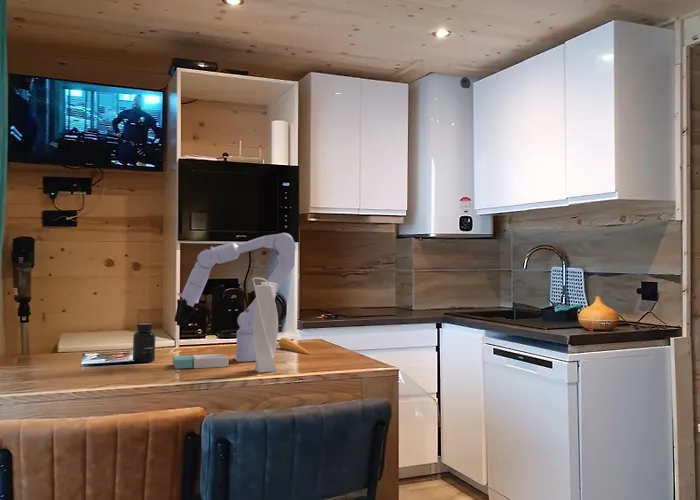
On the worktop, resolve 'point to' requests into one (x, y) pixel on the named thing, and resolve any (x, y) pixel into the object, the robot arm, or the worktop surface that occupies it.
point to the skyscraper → (265, 326)
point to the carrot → (291, 346)
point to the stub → (182, 362)
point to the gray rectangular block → (209, 360)
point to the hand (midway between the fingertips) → (178, 324)
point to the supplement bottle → (144, 343)
